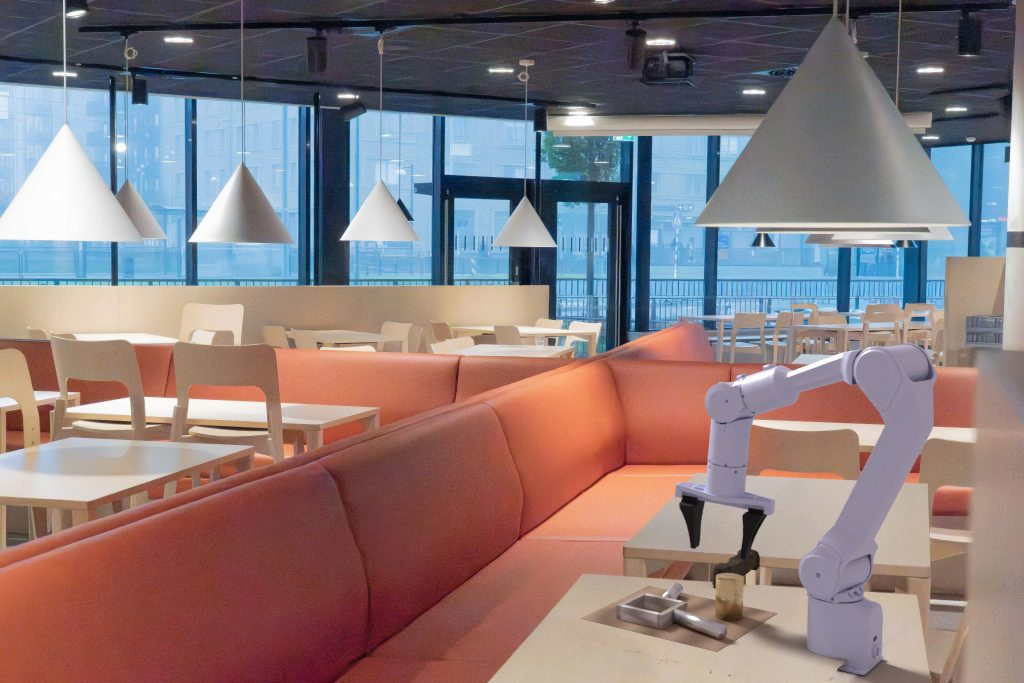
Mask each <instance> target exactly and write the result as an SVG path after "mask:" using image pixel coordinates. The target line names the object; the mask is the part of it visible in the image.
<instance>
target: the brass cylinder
mask: <svg viewBox="0 0 1024 683" xmlns="http://www.w3.org/2000/svg"><path fill="white" fill-rule="evenodd" d="M744 580H745V578H744V576H741V575H738V574H733V573H721V574H717V575H716V588H715V598H714V600H715V617H716V618H717V619H720V620H723V621H739V620H742V619H743V606H744V582H745V581H744Z"/></svg>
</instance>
